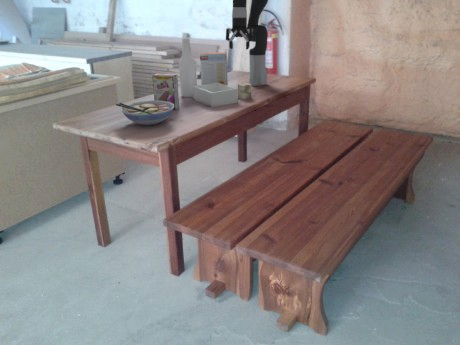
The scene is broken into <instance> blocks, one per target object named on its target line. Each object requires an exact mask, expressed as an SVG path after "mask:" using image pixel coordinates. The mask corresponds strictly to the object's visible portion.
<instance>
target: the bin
mask: <svg viewBox="0 0 460 345" xmlns="http://www.w3.org/2000/svg"><path fill="white" fill-rule="evenodd" d="M192 98H193V100H194V101H196V102H199V103H200V104H203V105H206V106H208V107H211V108H215V107H220V106H227V105H233V104H237V103H239V98H238V87H237V88H236V87H233V86H230V85H224V84H221V83H211V84H205V85H201V84H200V85H198V84H197V86H193V97H192Z"/></svg>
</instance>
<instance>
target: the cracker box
mask: <svg viewBox="0 0 460 345" xmlns="http://www.w3.org/2000/svg"><path fill="white" fill-rule="evenodd" d="M227 54H228V53H227V52H225V51H224V52H201V53H200V54H199V62H200V65H199V67H200V80H201V84H200V85H205V84H211V83H221V84H224V85H228V84H229V82H228V81H229V80H228V61H227V60H228V58H227V57H228V56H227ZM228 86H229V85H228Z"/></svg>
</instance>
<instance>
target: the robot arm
mask: <svg viewBox="0 0 460 345" xmlns="http://www.w3.org/2000/svg"><path fill="white" fill-rule="evenodd" d="M247 1H248V0H232V11H231V12H232V14H231V18H232V20H231V21H232V22H231V23H232V27H231V28H229V27H228V28H226V29H225V41H228V42H229V49H230V50H233V48H234V42H233V40H234V39H235V38H243V39H244V40H245V50H248V51H249V55H248V56H249V58H248V60H249V84H251V86H253V87H257V86H258V87H260V86H261V87H262V86H265V85H267V84H268V80H267V79H268V68H267V67H266V52H267V48H268V29H267V27H266V26H265V25H264V24H263V25H262V24H259V21H260V20H259V19H260V17H261V14H262V13H263V11H264V10H265V7H266V6H267V4H268V2H269V0H251V4H250V8H249V10H250V11H249V16H248V10H247ZM247 21H248V22H247ZM231 32H232V35H231V36H230V33H231ZM250 42H251V43H252V42H254V43H255V44H254V45H255V46H254V47H253V48H250V44H251V43H250Z"/></svg>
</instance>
